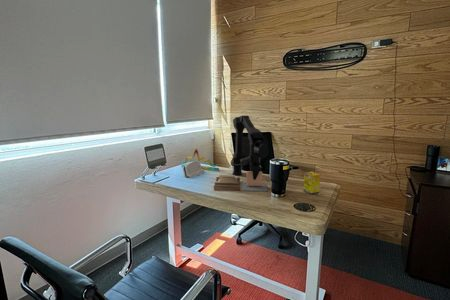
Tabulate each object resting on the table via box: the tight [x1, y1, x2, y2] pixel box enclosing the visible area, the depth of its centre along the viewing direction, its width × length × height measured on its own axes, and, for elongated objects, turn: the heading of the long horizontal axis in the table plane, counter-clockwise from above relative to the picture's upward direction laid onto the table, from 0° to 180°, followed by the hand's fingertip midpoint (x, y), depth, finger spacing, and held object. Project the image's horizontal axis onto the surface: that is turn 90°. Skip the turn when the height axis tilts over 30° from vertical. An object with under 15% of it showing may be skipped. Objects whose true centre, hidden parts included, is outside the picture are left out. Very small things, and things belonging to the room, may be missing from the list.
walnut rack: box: [213, 176, 241, 191], centre depth 147 cm, size 17×15×2 cm
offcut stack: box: [217, 174, 239, 183], centre depth 151 cm, size 5×12×4 cm, turn 87°
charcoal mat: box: [241, 181, 269, 192], centre depth 144 cm, size 14×14×1 cm
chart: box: [180, 148, 220, 172], centre depth 183 cm, size 30×3×15 cm, turn 68°
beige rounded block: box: [182, 160, 205, 179], centre depth 169 cm, size 17×5×10 cm, turn 148°
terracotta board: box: [246, 170, 263, 186], centre depth 143 cm, size 2×9×8 cm, turn 87°
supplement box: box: [303, 171, 321, 195], centre depth 135 cm, size 6×6×11 cm
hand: (254, 178), depth 143 cm, fingers closed on terracotta board, 2 cm apart
